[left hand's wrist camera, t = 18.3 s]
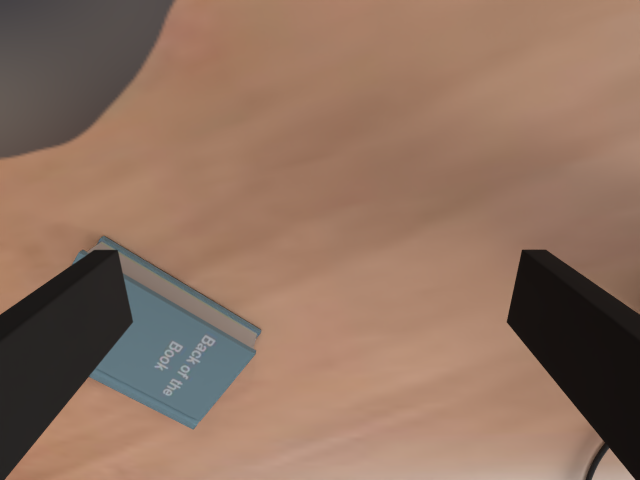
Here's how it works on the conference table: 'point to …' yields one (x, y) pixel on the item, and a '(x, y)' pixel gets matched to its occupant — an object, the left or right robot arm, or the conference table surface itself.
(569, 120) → the conference table surface
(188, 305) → the book
